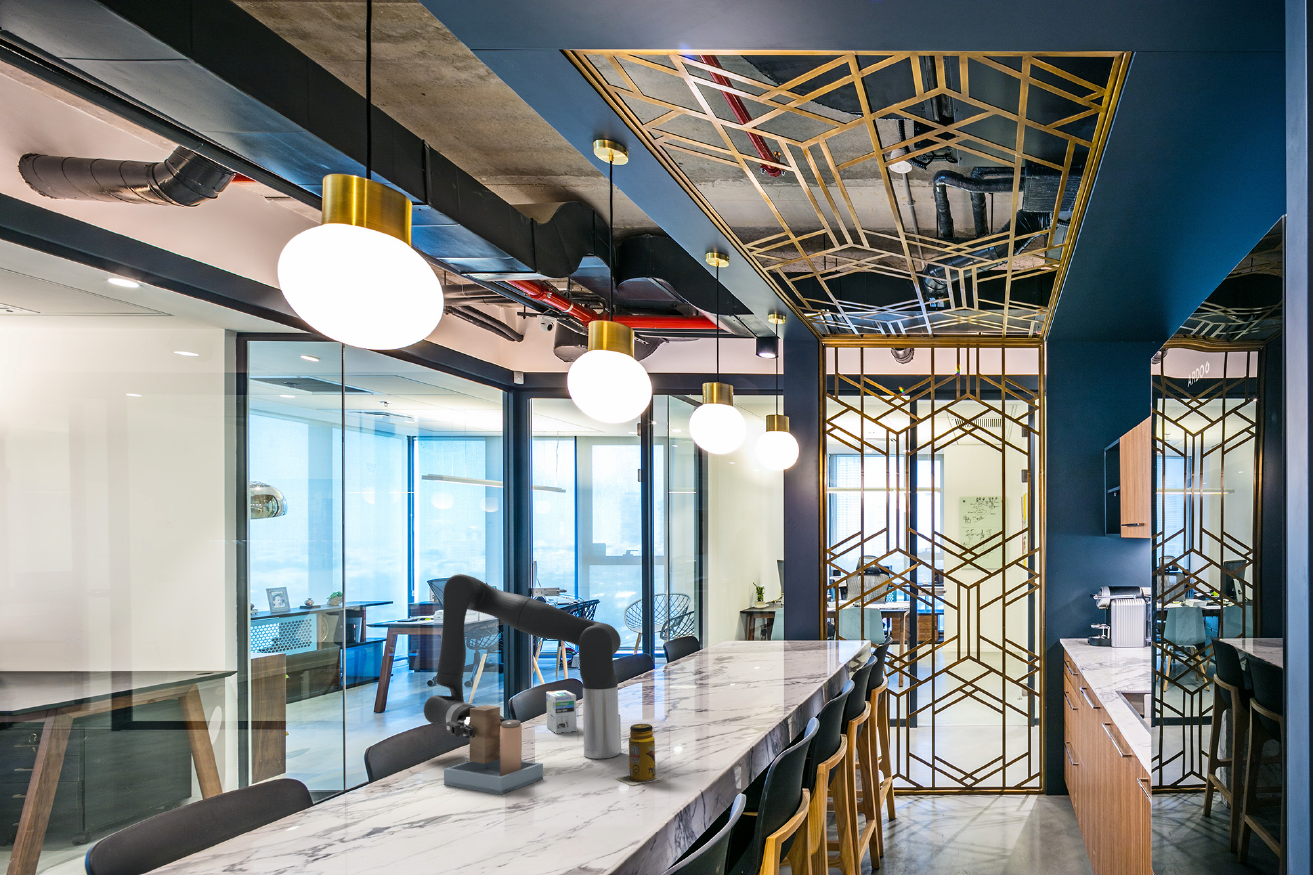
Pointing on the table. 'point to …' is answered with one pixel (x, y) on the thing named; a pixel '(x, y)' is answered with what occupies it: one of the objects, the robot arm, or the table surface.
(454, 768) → the tote
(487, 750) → the walnut block
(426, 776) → the table surface
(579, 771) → the table surface
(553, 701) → the light bulb box
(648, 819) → the table surface
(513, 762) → the terracotta jar
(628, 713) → the table surface
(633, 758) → the condiment
